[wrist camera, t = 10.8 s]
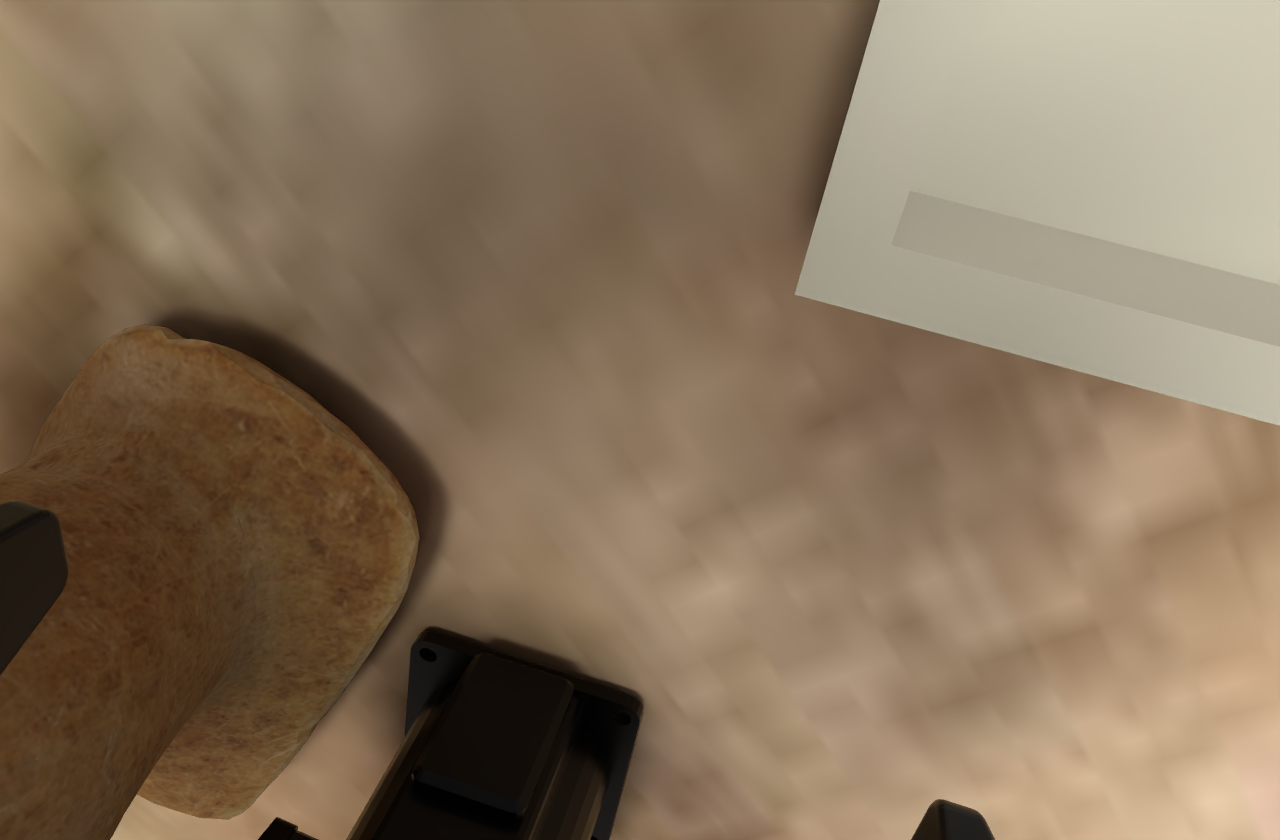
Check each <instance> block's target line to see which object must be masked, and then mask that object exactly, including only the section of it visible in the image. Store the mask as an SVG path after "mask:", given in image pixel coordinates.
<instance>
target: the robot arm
mask: <svg viewBox="0 0 1280 840" xmlns="http://www.w3.org/2000/svg"><path fill="white" fill-rule="evenodd" d="M67 578H68V564H67V559H66V553H65V548H64V543H63V538H62V532H61V527H60V522H59V519H58V518H57V516H56V515H55V514H54V513H53V512H52V511H50V510H47V509H44V508H41V507H38V506H35V505H32V504H29V503H26V502H22V501H10V502H6V503H2V504H0V675H1V674H2V673H3V671H4V670H5V669H6V667H7V666H8V665H9V663H10V662H11V661H12V659H13V658H14V657H15V655H16V654H17V652H18V651H19V650H20V648H21V647H22V646H23V644H24V643H25V642H26V640H27V639H28V638H29V636H30V635H31V634H32V632H33V631H34V630H35V628H36V627H37V626H38V624H39V623H40V622H41V620H42V619H43V618H44V616H45V615H46V614H47V612H48V611H49V609H50V608H51V607H52V605H53V604H54V603H55V601H56V600H57V599H58V597H59V596H60V594H61V593H62V591H63V589H64V587H65V585H66V582H67ZM430 649H431V650H430ZM432 650H433V651H432ZM620 711H622V712H625V713H627V714H625V713H622V712H620ZM642 716H643V706H642V704H641V702H640V701H638V700H637V699H636V698H635V697H633V696H631V695H629V694H626V693H623V692H620V691H616V690H613V689H610V688H607V687H604V686H601V685H598V684H595V683H592V682H589V681H586V680H582V679H579V678H576V677H573V676H570V675H567V674H564V673H561V672H558V671H555V670H552V669H548V668H545V667H542V666H539V665H536V664H533V663H530V662H527V661H524V660H521V659H518V658H514V657H511V656H508V655H505V654H502V653H499V652H496V651H493V650H490V649H487V648H484V647H480V646H477V645H474V644H471V643H468V642H465V641H462V640H459V639H456V638H453V637H450V636H446V635H443V634H440V633H437V632H433V631H425V632H422V633H421V634H419V636H418V637H417V639H416V640H415V642H414V643H413V645H412V648H411V656H410V670H409V685H408V699H407V713H406V727H405V738H404V740H403V742H402V744H401V745H400V747H399V749H398V751H397V752H396V754H395V756H394V758H393V759H392V761H391V763H390V765H389V766H388V768H387V770H386V772H385V773H384V775H383V777H382V778H381V780H380V782H379V784H378V785H377V787H376V789H375V791H374V792H373V794H372V796H371V798H370V799H369V801H368V803H367V805H366V806H365V808H364V810H363V812H362V813H361V815H360V817H359V819H358V820H357V822H356V824H355V825H354V827H353V829H352V831H351V832H350V834H349V836H348V838H347V839H346V840H609V839H610V836H611V832H612V828H613V825H614V821H615V817H616V813H617V810H618V806H619V802H620V798H621V795H622V791H623V787H624V783H625V780H626V776H627V772H628V768H629V765H630V761H631V757H632V753H633V750H634V746H635V742H636V738H637V735H638V731H639V727H640V723H641V720H642ZM258 840H318V839H316V838H314V837H311V836H309V835H307V834H304V833H302V832H300V831H298V826H297V825H294V824H292V823H290V822H287V821H285V820H283V819H280V818H278V817H277V818H275V819H274V821H273V822H272V823H271V824H270V826H269V827H268V828H267V829H266V830H265V832H264V833H263V834H262V835H261V837H260V838H259V839H258ZM911 840H995V839H994V837H993V835H992V833H991V831H990V829H989V827H988V825H987V822H986V821H985V819H984V818H983V816H982V815H981V814H980V813H979V812H978V811H976V810H974V809H971V808H968V807H965V806H962V805H959V804H956V803H952V802H949V801H946V800H942V799H938V800H935V801H934V802H933V803H932V804H931V805H930V806H929V808H928V810H927V812H926V813H925V815H924V817H923V819H922V821H921V823H920V824H919V826H918V828H917V830H916V832H915V834H914V835H913V837H912V839H911Z"/></svg>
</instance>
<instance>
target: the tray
mask: <svg viewBox="0 0 1280 840" xmlns="http://www.w3.org/2000/svg"><path fill="white" fill-rule="evenodd" d="M795 295H798V296H802V297H806V298H809V299H813V300H817V301H820V302H824V303H828V304H831V305H835V306H839V307H843V308H846V309H850V310H854V311H857V312H861V313H865V314H868V315H872V316H876V317H880V318H883V319H887V320H891V321H894V322H898V323H902V324H905V325H909V326H913V327H916V328H920V329H924V330H928V331H931V332H935V333H939V334H942V335H946V336H950V337H953V338H957V339H961V340H965V341H968V342H972V343H976V344H979V345H983V346H987V347H990V348H994V349H998V350H1001V351H1005V352H1009V353H1013V354H1016V355H1020V356H1024V357H1027V358H1031V359H1035V360H1038V361H1042V362H1046V363H1050V364H1053V365H1057V366H1061V367H1064V368H1068V369H1072V370H1075V371H1079V372H1083V373H1086V374H1090V375H1094V376H1098V377H1101V378H1105V379H1109V380H1112V381H1116V382H1120V383H1123V384H1127V385H1131V386H1135V387H1138V388H1142V389H1146V390H1149V391H1153V392H1157V393H1160V394H1164V395H1168V396H1171V397H1175V398H1179V399H1183V400H1186V401H1190V402H1194V403H1197V404H1201V405H1205V406H1208V407H1212V408H1216V409H1220V410H1223V411H1227V412H1231V413H1234V414H1238V415H1242V416H1245V417H1249V418H1253V419H1256V420H1260V421H1264V422H1268V423H1271V424H1275V425H1279V426H1280V0H880V2H879V5H878V9H877V12H876V16H875V19H874V23H873V26H872V30H871V33H870V36H869V40H868V43H867V47H866V50H865V54H864V57H863V60H862V64H861V67H860V71H859V74H858V78H857V81H856V85H855V88H854V91H853V95H852V98H851V102H850V105H849V109H848V112H847V115H846V119H845V122H844V126H843V129H842V133H841V136H840V140H839V143H838V146H837V150H836V153H835V157H834V160H833V164H832V167H831V170H830V174H829V177H828V181H827V184H826V188H825V191H824V195H823V198H822V201H821V205H820V208H819V212H818V215H817V219H816V222H815V225H814V229H813V232H812V236H811V239H810V243H809V246H808V250H807V253H806V257H805V260H804V264H803V267H802V271H801V274H800V277H799V281H798V284H797V288H796V291H795Z"/></svg>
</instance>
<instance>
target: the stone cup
mask: <svg viewBox="0 0 1280 840" xmlns="http://www.w3.org/2000/svg"><path fill="white" fill-rule="evenodd" d="M10 501H22V502H26V503H29V504H32V505H35V506H38V507H41V508H44V509H47V510H50V511H52V512H53V513H54V514H55V515H56V516H57V518H58V519H59V522H60V527H61V532H62V538H63V543H64V548H65V553H66V559H67V564H68V578H67V582H66V585H65V587H64V589H63V591H62V593H61V594H60V596H59V597H58V599H57V600H56V601H55V603H54V604H53V605H52V607H51V608H50V609H49V611H48V612H47V614H46V615H45V616H44V618H43V619H42V620H41V622H40V623H39V624H38V626H37V627H36V628H35V630H34V631H33V632H32V634H31V635H30V636H29V638H28V639H27V640H26V642H25V643H24V644H23V646H22V647H21V648H20V650H19V651H18V652H17V654H16V655H15V657H14V658H13V659H12V661H11V662H10V663H9V665H8V666H7V667H6V669H5V670H4V671H3V673H2V674H1V675H0V840H110V839H111V837H112V836H113V834H114V832H115V830H116V828H117V826H118V825H119V823H120V821H121V819H122V817H123V815H124V813H125V812H126V810H127V808H128V807H129V805H130V804H131V802H132V801H133V799H134V797H135V796H136V794H137V795H139V796H141V797H143V798H145V799H147V800H149V801H151V802H153V803H155V804H158V805H161V806H164V807H167V808H170V809H173V810H176V811H179V812H183V813H186V814H189V815H192V816H196V817H199V818H213V819H230V818H232V817H234V816H236V815H239V814H241V813H243V812H244V811H245V810H246V809H248V808H249V807H250V806H251V805H252V804H253V803H254V802H255V800H256V799H257V798H258V797H259V796H260V794H261V793H262V792H263V791H264V790H265V789H266V788H267V787H268V786H269V785H270V784H271V782H272V781H274V780H275V779H276V778H277V776H278V775H279V774H280V773H281V772H282V771H283V770H284V768H285V767H286V766H287V765H288V764H289V763H290V761H291V760H292V759H293V757H294V756H295V755H296V754H297V752H298V751H299V750H300V748H301V747H302V746H303V744H304V743H305V742H306V740H307V739H308V738H309V736H310V735H311V733H312V731H313V730H314V728H315V726H316V724H317V723H318V721H319V720H320V719H321V718H323V717H324V716H325V715H326V713H327V712H328V711H329V710H330V708H331V707H332V706H333V704H334V703H335V702H336V701H337V699H338V698H339V697H340V695H341V694H342V693H343V691H344V690H345V688H346V687H347V685H348V684H349V683H350V681H351V680H352V678H353V677H354V675H355V674H356V673H357V671H358V670H359V668H360V667H361V666H362V664H363V663H364V661H365V660H366V658H367V657H368V655H369V654H370V652H371V651H372V649H373V648H374V646H375V645H376V643H377V641H378V640H379V638H380V637H381V635H382V634H383V632H384V630H385V629H386V627H387V626H388V624H389V623H390V621H391V619H392V618H393V616H394V615H395V613H396V612H397V610H398V608H399V606H400V604H401V602H402V600H403V598H404V595H405V593H406V591H407V589H408V585H409V582H410V579H411V575H412V572H413V569H414V566H415V562H416V557H417V551H418V544H419V538H420V537H419V532H418V526H417V521H416V516H415V512H414V509H413V507H412V505H411V503H410V501H409V498H408V496H407V495H406V493H405V492H404V490H403V489H402V487H401V486H400V484H399V482H398V481H397V479H396V478H395V476H394V475H393V473H392V472H391V471H390V470H389V469H388V468H387V467H386V466H385V465H384V464H383V463H382V462H381V461H380V459H379V458H378V457H377V456H376V455H375V454H374V453H373V452H372V451H371V450H370V449H369V448H368V447H367V446H366V445H365V444H364V443H363V442H362V441H361V440H360V439H359V438H358V436H357V435H356V434H355V433H354V432H353V431H352V430H351V429H350V428H349V427H348V426H347V425H345V424H344V423H343V422H341V421H340V420H339V419H337V418H336V417H335V416H333V415H332V414H331V413H329V412H328V411H327V410H326V409H325V408H324V407H323V406H321V405H320V404H319V403H318V402H317V401H316V400H315V399H314V398H313V397H311V396H310V395H309V394H308V393H306V392H305V391H303V390H302V389H300V388H299V387H297V386H296V385H294V384H293V383H291V382H290V381H288V380H287V379H285V378H284V377H282V376H281V375H279V374H278V373H276V372H274V371H273V370H271V369H270V368H268V367H267V366H265V365H263V364H262V363H260V362H259V361H257V360H255V359H253V358H251V357H249V356H247V355H245V354H243V353H241V352H239V351H237V350H234V349H231V348H228V347H226V346H223V345H220V344H216V343H212V342H208V341H203V340H196V339H185V338H183V337H182V336H180V335H178V334H177V333H175V332H173V331H172V330H170V329H169V328H167V327H161V326H154V325H147V324H144V325H139V326H135V327H130V328H126V329H124V330H122V331H121V332H119V333H118V334H116V335H115V336H113V337H111V338H110V339H108V340H107V341H105V342H104V343H103V344H102V346H101V347H100V348H99V349H98V350H97V351H96V352H95V353H94V354H93V355H92V356H91V357H90V358H89V359H88V361H87V362H86V363H85V365H84V366H83V367H82V369H81V370H80V372H79V373H78V374H77V376H76V377H75V379H74V380H73V381H72V383H71V384H70V385H69V387H68V388H67V390H66V391H65V392H64V394H63V395H62V397H61V398H60V400H59V401H58V403H57V404H56V406H55V407H54V409H53V410H52V412H51V413H50V415H49V416H48V418H47V419H46V421H45V423H44V425H43V427H42V429H41V431H40V433H39V435H38V437H37V439H36V441H35V443H34V445H33V447H32V450H31V453H30V456H29V459H28V461H27V462H25V463H24V464H22V465H20V466H19V467H17V468H15V469H13V470H10V471H8V472H5V473H3V474H0V504H2V503H6V502H10Z"/></svg>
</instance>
